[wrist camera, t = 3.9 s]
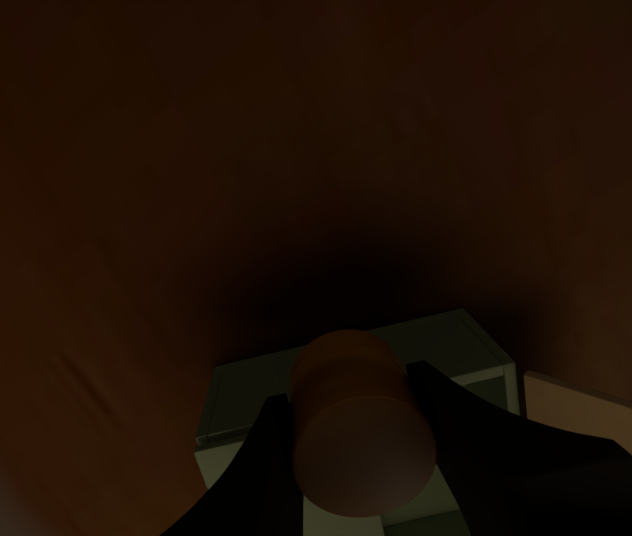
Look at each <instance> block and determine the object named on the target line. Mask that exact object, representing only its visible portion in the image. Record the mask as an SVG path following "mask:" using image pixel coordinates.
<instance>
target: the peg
mask: <svg viewBox="0 0 632 536" xmlns="http://www.w3.org/2000/svg"><path fill="white" fill-rule="evenodd" d="M289 396H290V435H291V467H292V472H293V476H294V479H295V482H296V484H297V485H298V487H299V489H300V491H301V492H302V493H303V494H304V496H305V497H306V498H307V499H308V500H309V501H311V502H312V503H313V504H314V505H316V506H317V507H319V508H321V509H323V510H325V511H327V512H329V513H332V514H335V515H339V516H344V517H352V518H363V517H372V516H378V515H381V514H385V513H388V512H390V511H393V510H395V509H397V508H399V507H401V506H403V505H405V504H406V503H408V502H409V501H411V500H412V499H413V498H414V497H415V496H417V495H418V494H419V493H420V492H421V490H422V489H423V488H424V487H425V486H426V484H427V483H428V481H429V480H430V478H431V476H432V474H433V472H434V469H435V466H436V462H437V454H438V446H437V439H436V435H435V433H434V430H433V428H432V426H431V424H430V422H429V420H428V418H427V416H426V414H425V412H424V409H423V407H422V405H421V403H420V401H419V399H418V397H417V395H416V393H415V391H414V389H413V387H412V385H411V383H410V381H409V379H408V377H407V375H406V373H405V371H404V369H403V367H402V365H401V362H400V360H399V358H398V356H397V355H396V353H395V351H394V350H393V349H392V348H391V347H390V345H389V344H387V343H386V342H385V341H384V340H382V339H381V338H379V337H378V336H375V335H373V334H371V333H368V332H365V331H360V330H350V329H348V330H338V331H333V332H330V333H327V334H324V335H322V336H320V337H318V338H316V339H315V340H313V341H312V342H311V343H309V344H308V345H307V346H306V347H305V348H304V349H303V350H302V351H301V352H300V353H299V355H298V356H297V358H296V360H295V361H294V363H293V366H292V368H291V372H290V378H289Z"/></svg>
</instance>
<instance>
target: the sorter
mask: <svg viewBox="0 0 632 536" xmlns="http://www.w3.org/2000/svg"><path fill="white" fill-rule="evenodd" d="M365 332H368V333H371V334H373V335H375V336H378V337H379V338H381V339H382V340H384V341H385V342H386V343H387V344H389V345H390V347H391V348H392V349H393V350H394V351H395V353H396V355H397V356H398V358H399V360H400V362H401V365H402V367H403V369H404V371H405V373H406V375H407V377H408V373H407V368H406V364H409V363H414V362H418V361H422V360H425V361H427V362H428V363H429V364H431V365H432V366H433V367H435V368H436V369H438V370H439V371H440V372H442V373H443V374H444V375H446V376H447V377H449V378H450V379H451V380H453V381H454V382H456V383H457V384H459V385H461V386H462V387H464V388H465V389H467V390H468V391H470V392H472V393H473V394H475V395H477V396H479V397H480V398H482V399H484V400H486V401H488V402H490V403H492V404H494V405H496V406H498V407H500V408H502V409H505V410H507V411H509V412H511V413H514V414H516V415H519V416H520V410H519V399H518V388H517V377H516V367H515V362H514V361H513V360H512V359H511V358H510V357H509V356H508V355H507V354H506V353H505V352H504V350H503V349H502V348H501V347H500V346H499V345H498V344H497V343H496V342H495V341H494V340H493V339H492V338H491V337H490V336H489V335H488V334H487V333H486V332H485V331H484V330H483V329H482V328H481V327H480V326H479V324H478V323H477V322H476V321H475V320H474V319H473V318H472V317H471V316H470V315H469V314H468V313H467V312H466V311H465V310H464V309H463V308H460V309H456V310H452V311H448V312H443V313H439V314H435V315H431V316H426V317H422V318H418V319H414V320H410V321H405V322H401V323H397V324H393V325H388V326H384V327H380V328H376V329H372V330H367V331H365ZM306 346H307V345H304V346H300V347H296V348H291V349H287V350H283V351H279V352H274V353H270V354H266V355H262V356H258V357H253V358H249V359H245V360H241V361H236V362H232V363H228V364H224V365H220V366H216V367H215V368H214V372H213V375H212V379H211V382H210V386H209V390H208V393H207V397H206V401H205V404H204V408H203V412H202V416H201V419H200V423H199V427H198V430H197V434H196V438H195V439H196V441H197V444H198V446H196V447H195V450H194V455H195V458H196V460H197V463H198V465H199V468H200V470H201V473H202V476H203V478H204V481H205V483H206V486H207V489H208V490H209V489H210V488H211V487H212V486H213V485H214V483H215V482H216V481H217V480H218V479H219V477H220V476H221V475H222V473H223V472H224V471H225V470H226V468H227V467H228V465H229V464H230V463H231V461H232V460H233V458H234V457H235V455H236V453H237V452H238V450H239V449H240V447H241V446H242V444H243V442H244V441H245V439H246V437H247V435H248V434H249V432H250V430H251V428H252V426H253V424H254V423H255V421H256V419H257V417H258V415H259V413H260V411H261V408H262V406H263V404H264V402H265V400H266V399H267V397H270V396H274V395H278V394H282V393H286V395H287V398H288V402H289V405H290V396H289V378H290V372H291V368H292V366H293V363H294V361H295V360H296V358H297V356H298V355H299V353H300V352H301V351H302V350H303V349H304V348H305V347H306ZM303 536H471V534H470V532H469V529H468V527H467V524H466V522H465V519H464V517H463V515H462V513H461V510H460V508H459V506H458V504H457V502H456V500H455V498H454V496H453V494H452V493H451V491H450V489H449V487H448V485H447V483H446V481H445V479H444V477H443V476H442V474H441V472H440V470H439V468H438V466H437V464H436V466H435V469H434V472H433V474H432V476H431V478H430V480H429V481H428V483H427V484H426V486H425V487H424V488H423V489H422V490H421V492H420V493H419V494H418V495H417V496H415V497H414V498H413V499H412V500H411V501H409V502H408V503H406V504H405V505H403V506H401V507H399V508H397V509H395V510H393V511H390V512H388V513H385V514H381V515H378V516H372V517H363V518H352V517H344V516H339V515H335V514H332V513H329V512H327V511H325V510H323V509H321V508H319V507H317V506H316V505H314V504H313V503H312V502H311V501H309V500H308V499H307V498H306V497H305V496H304V504H303Z"/></svg>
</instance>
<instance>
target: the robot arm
mask: <svg viewBox="0 0 632 536" xmlns="http://www.w3.org/2000/svg"><path fill="white" fill-rule="evenodd" d="M406 368H407V373H408V379H409V381H410V383H411V385H412V387H413V389H414V391H415V393H416V395H417V397H418V399H419V401H420V403H421V405H422V407H423V409H424V412H425V414H426V416H427V418H428V420H429V422H430V424H431V426H432V428H433V430H434V433H435V435H436V439H437V446H438V454H437V462H436V464H437V466H438V468H439V470H440V472H441V474H442V476H443V477H444V479H445V481H446V483H447V485H448V487H449V489H450V491H451V493H452V494H453V496H454V498H455V500H456V502H457V504H458V506H459V508H460V510H461V513H462V515H463V517H464V519H465V522H466V524H467V527H468V529H469V532H470V534H471V536H632V455H631V454H630V453H629V452H628V451H627V450H625V449H624V448H623V447H622V446H621V445H619V444H618V443H617V442H616V441H615V440H613V439H607V438H602V437H596V436H590V435H585V434H579V433H575V432H571V431H567V430H563V429H559V428H555V427H552V426H548V425H545V424H542V423H539V422H536V421H533V420H530V419H527V418H524V417H521V416H519V415H516V414H514V413H511V412H509V411H507V410H505V409H502V408H500V407H498V406H496V405H494V404H492V403H490V402H488V401H486V400H484V399H482V398H480V397H479V396H477V395H475V394H473V393H472V392H470V391H468V390H467V389H465V388H464V387H462V386H461V385H459V384H457V383H456V382H454V381H453V380H451V379H450V378H449V377H447V376H446V375H444V374H443V373H442V372H440V371H439V370H438V369H436V368H435V367H433V366H432V365H431V364H429V363H428V362H427V361H425V360H422V361H418V362H414V363H409V364H406ZM303 504H304V494H303V493H302V492H301V491H300V489H299V487H298V485H297V484H296V482H295V479H294V476H293V472H292V467H291V435H290V405H289V402H288V398H287V395H286V393H282V394H278V395H274V396H270V397H267V399H266V400H265V402H264V404H263V406H262V408H261V411H260V413H259V415H258V417H257V419H256V421H255V423H254V424H253V426H252V428H251V430H250V432H249V434H248V435H247V437H246V439H245V441H244V442H243V444H242V446H241V447H240V449H239V450H238V452H237V453H236V455H235V457H234V458H233V460H232V461H231V463H230V464H229V465H228V467H227V468H226V470H225V471H224V472H223V473H222V475H221V476H220V477H219V479H218V480H217V481H216V482H215V483H214V485H213V486H212V487H211V488H210V489H209V490H208V491H207V492H206V493H205V494H204V495H203V496H202V498H201V499H200V500H199V501H198V502H197V503H196V504H195V505H194V506H193V507H192V508H191V509H190V510H189V511H188V512H187V513H186V514H185V515H183V516H182V517H181V518H180V519H179V520H178V521H177V522H176V523H174V524H173V525H172V526H171V527H170V528H169V529H167V530H166V531H165V532H164V533H162V534H161V535H160V536H303Z"/></svg>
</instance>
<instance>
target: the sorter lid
mask: <svg viewBox="0 0 632 536" xmlns="http://www.w3.org/2000/svg"><path fill="white" fill-rule="evenodd" d="M524 387H525V399H526V410H527V419H530V420H533V421H536V422H539V423H542V424H545V425H548V426H552V427H555V428H559V429H563V430H567V431H571V432H575V433H579V434H585V435H590V436H596V437H602V438H607V439H613V440H615V441H616V442H617V443H618V444H619V445H621V446H622V447H623V448H624V449H625V450H627V451H628V452H629V453H630V454H631V455H632V401H629V400H626V399H622V398H619V397H616V396H612V395H609V394H606V393H603V392H599V391H596V390H593V389H589V388H586V387H583V386H579V385H576V384H573V383H569V382H566V381H563V380H560V379H556V378H553V377H550V376H546V375H543V374H540V373H536V372H533V371H530V370H528V371H527V372H526V373H525V374H524Z"/></svg>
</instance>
